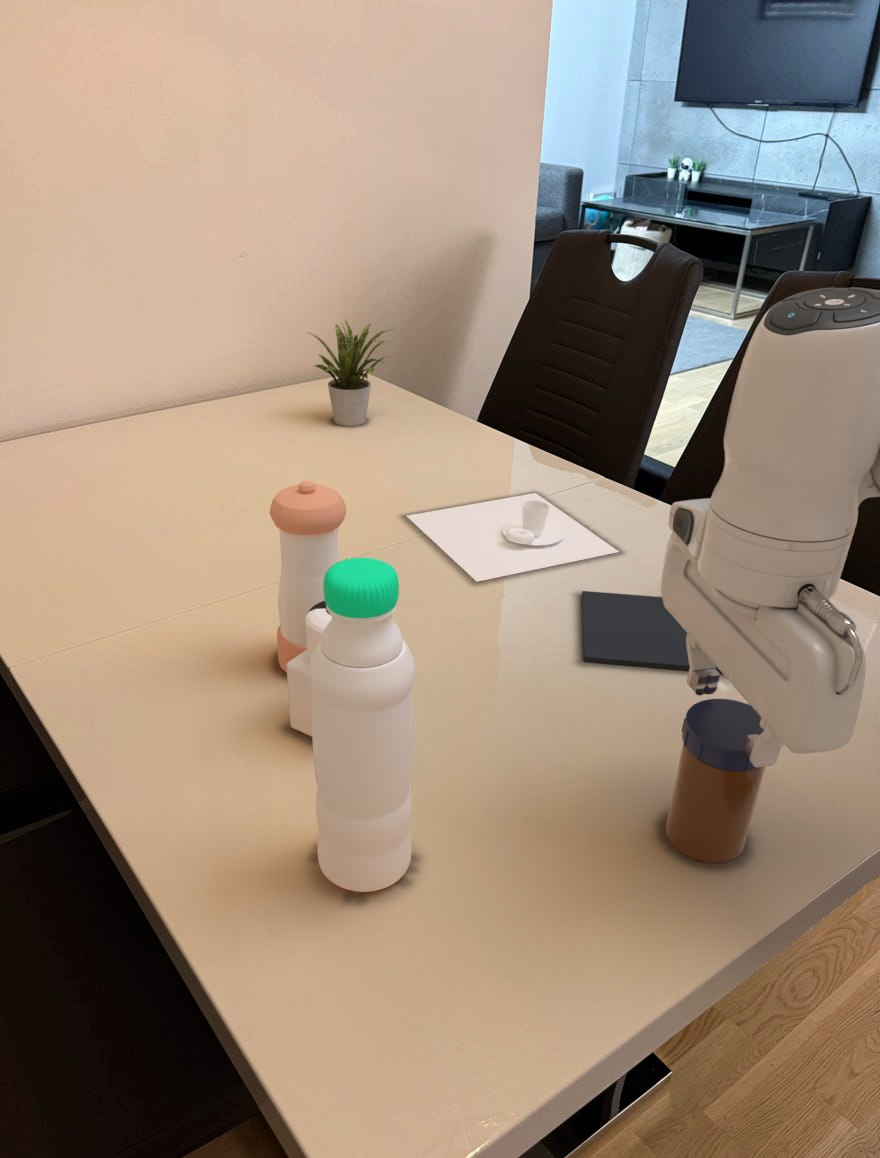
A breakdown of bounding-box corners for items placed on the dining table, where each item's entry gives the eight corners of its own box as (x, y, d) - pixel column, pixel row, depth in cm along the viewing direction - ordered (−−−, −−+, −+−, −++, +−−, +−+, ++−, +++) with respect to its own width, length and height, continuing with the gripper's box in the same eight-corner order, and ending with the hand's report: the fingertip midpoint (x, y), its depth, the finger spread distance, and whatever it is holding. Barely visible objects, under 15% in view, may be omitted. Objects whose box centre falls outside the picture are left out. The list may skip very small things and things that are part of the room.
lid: (764, 721, 72) (769, 702, 71) (780, 776, 67) (786, 756, 66) (677, 713, 73) (681, 694, 72) (686, 766, 68) (691, 746, 67)
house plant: (417, 422, 158) (419, 321, 149) (357, 442, 149) (356, 337, 140) (357, 402, 166) (356, 306, 157) (297, 421, 157) (293, 320, 149)
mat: (708, 605, 106) (708, 600, 106) (725, 673, 94) (727, 668, 94) (581, 595, 108) (582, 590, 108) (583, 661, 96) (584, 656, 96)
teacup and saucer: (516, 554, 116) (518, 524, 114) (485, 528, 122) (487, 499, 120) (576, 542, 119) (580, 512, 117) (543, 517, 126) (546, 489, 123)
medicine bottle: (337, 691, 91) (334, 581, 85) (398, 717, 88) (399, 605, 81) (288, 728, 86) (281, 614, 80) (350, 757, 83) (347, 640, 76)
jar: (737, 814, 77) (765, 709, 71) (749, 867, 72) (780, 759, 66) (662, 806, 78) (683, 702, 72) (669, 858, 73) (692, 750, 67)
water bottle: (402, 903, 69) (407, 602, 55) (307, 889, 70) (290, 591, 56) (417, 835, 74) (425, 549, 61) (330, 824, 75) (319, 540, 62)
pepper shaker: (346, 637, 99) (342, 465, 89) (355, 676, 93) (352, 495, 83) (276, 643, 98) (264, 469, 88) (281, 682, 92) (268, 500, 82)
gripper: (917, 630, 54) (851, 813, 61) (738, 490, 71) (703, 646, 78) (817, 640, 53) (762, 826, 60) (660, 495, 70) (632, 653, 77)
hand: (728, 723), depth 69 cm, fingers open, 7 cm apart
